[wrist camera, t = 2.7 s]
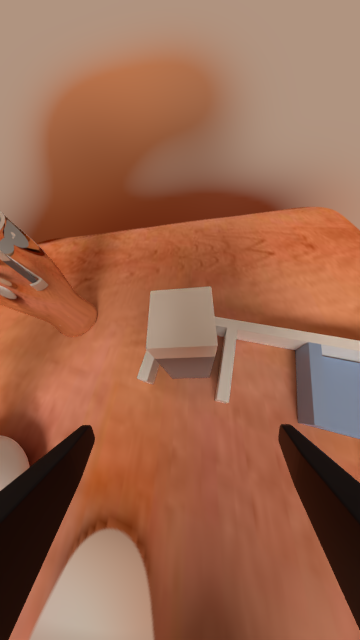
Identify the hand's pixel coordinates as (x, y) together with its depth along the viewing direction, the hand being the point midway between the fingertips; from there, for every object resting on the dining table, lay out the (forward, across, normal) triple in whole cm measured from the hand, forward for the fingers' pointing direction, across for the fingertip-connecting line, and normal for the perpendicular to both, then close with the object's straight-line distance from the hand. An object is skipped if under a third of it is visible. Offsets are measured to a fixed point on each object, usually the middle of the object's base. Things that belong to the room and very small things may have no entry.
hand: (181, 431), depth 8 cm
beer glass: (+19, +17, 0) cm, 25 cm away
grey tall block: (+14, 0, +4) cm, 14 cm away
